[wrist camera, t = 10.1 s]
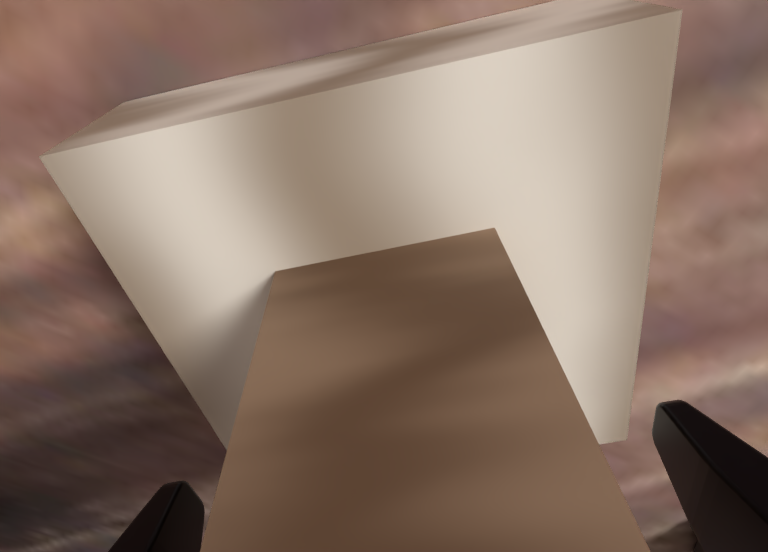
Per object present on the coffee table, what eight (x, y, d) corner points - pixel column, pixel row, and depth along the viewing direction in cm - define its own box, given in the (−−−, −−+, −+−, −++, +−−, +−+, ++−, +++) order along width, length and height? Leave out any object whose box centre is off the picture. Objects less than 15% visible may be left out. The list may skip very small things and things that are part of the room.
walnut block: (494, 227, 10) (658, 569, 5) (508, 383, 13) (622, 718, 7) (275, 271, 11) (177, 636, 5) (333, 413, 14) (312, 752, 8)
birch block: (590, -8, 12) (682, 9, 8) (578, 351, 18) (626, 439, 15) (124, 102, 13) (39, 156, 9) (275, 403, 19) (257, 498, 16)
